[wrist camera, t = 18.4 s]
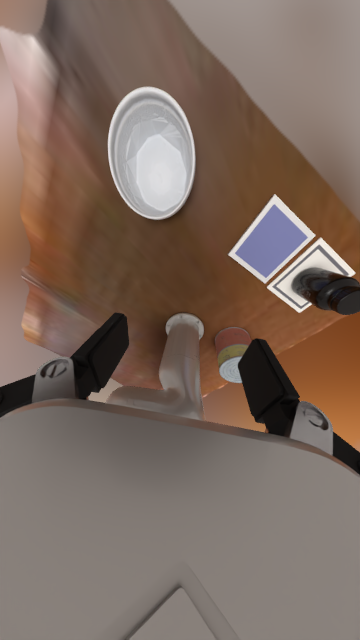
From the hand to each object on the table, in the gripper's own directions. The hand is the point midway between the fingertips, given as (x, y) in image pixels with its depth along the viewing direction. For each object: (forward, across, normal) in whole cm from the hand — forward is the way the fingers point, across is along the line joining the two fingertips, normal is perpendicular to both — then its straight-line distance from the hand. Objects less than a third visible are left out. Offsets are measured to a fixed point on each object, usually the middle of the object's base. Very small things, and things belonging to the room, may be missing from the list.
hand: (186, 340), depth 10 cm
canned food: (+28, -18, +22) cm, 40 cm away
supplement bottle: (+28, -28, 0) cm, 40 cm away
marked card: (+28, -28, -1) cm, 40 cm away
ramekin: (+29, +9, -14) cm, 33 cm away
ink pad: (+28, -15, -6) cm, 33 cm away
